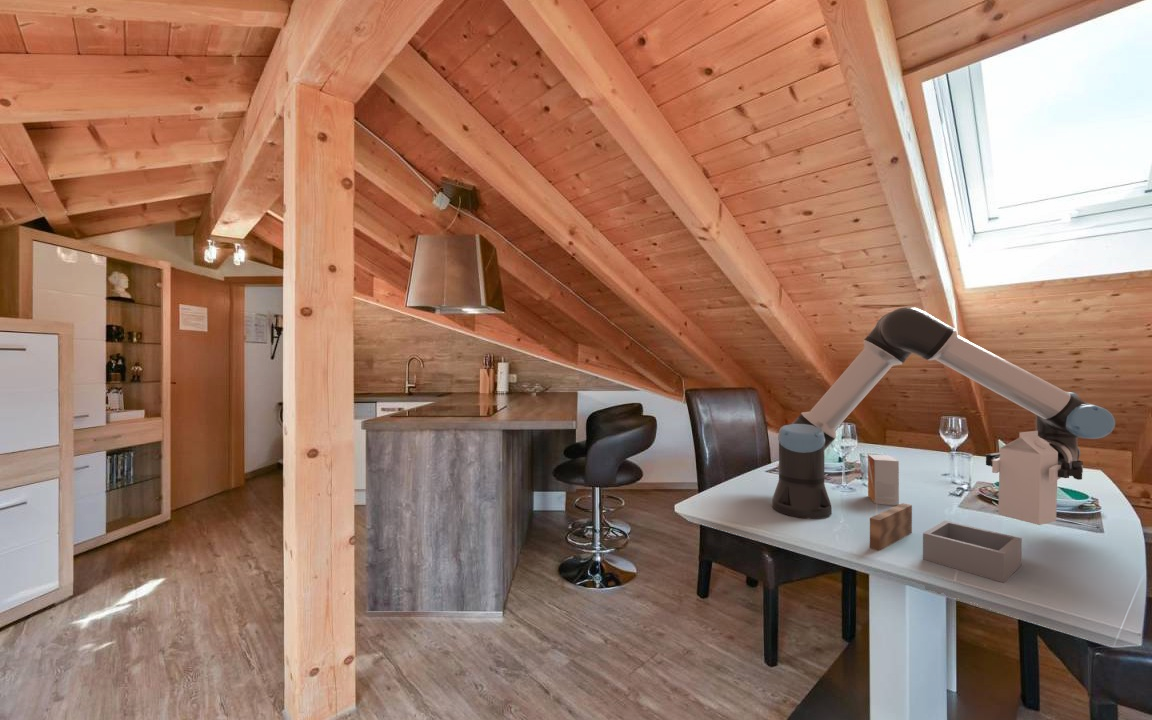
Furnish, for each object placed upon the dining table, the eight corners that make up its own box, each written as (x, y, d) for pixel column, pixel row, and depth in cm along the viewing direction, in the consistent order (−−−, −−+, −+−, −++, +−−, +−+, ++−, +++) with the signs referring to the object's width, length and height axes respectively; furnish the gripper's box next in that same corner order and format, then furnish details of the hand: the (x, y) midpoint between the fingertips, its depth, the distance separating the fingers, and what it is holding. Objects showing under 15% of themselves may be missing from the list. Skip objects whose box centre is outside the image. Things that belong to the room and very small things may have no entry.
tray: (1003, 582, 90) (1003, 553, 90) (922, 559, 100) (923, 533, 100) (1021, 564, 98) (1021, 538, 98) (944, 544, 108) (944, 520, 108)
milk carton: (997, 515, 106) (999, 430, 105) (1015, 511, 108) (1017, 428, 108) (1039, 526, 99) (1041, 435, 99) (1056, 521, 102) (1058, 433, 102)
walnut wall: (879, 551, 105) (879, 520, 105) (869, 548, 107) (869, 517, 107) (911, 533, 115) (911, 505, 115) (902, 531, 117) (902, 503, 117)
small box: (867, 496, 147) (867, 454, 147) (891, 498, 145) (891, 455, 145) (874, 503, 139) (874, 459, 139) (899, 506, 137) (899, 461, 137)
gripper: (1112, 483, 106) (1094, 501, 92) (989, 465, 123) (960, 477, 109) (1112, 449, 106) (1095, 462, 92) (990, 436, 123) (960, 445, 109)
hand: (1022, 470), depth 101 cm, fingers closed on milk carton, 8 cm apart
